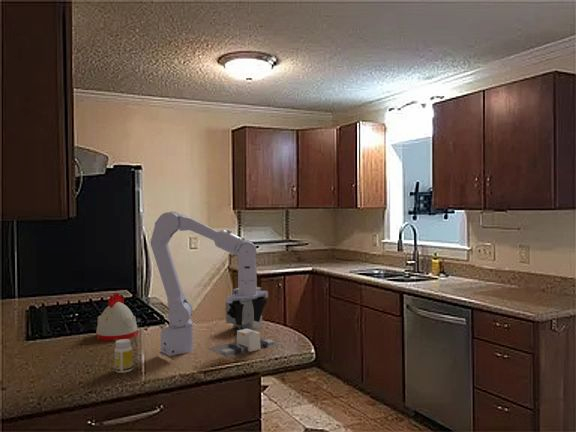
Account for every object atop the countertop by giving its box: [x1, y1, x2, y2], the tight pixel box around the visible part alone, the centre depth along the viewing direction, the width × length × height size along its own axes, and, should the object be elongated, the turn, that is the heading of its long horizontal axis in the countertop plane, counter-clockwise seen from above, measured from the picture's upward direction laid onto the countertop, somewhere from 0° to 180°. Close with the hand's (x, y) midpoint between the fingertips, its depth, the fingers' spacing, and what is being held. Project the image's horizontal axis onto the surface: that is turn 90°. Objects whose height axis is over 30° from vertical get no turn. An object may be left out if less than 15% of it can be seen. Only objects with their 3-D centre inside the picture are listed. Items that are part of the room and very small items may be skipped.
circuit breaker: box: [224, 286, 263, 330], centre depth 189 cm, size 8×14×15 cm, turn 152°
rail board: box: [206, 337, 281, 358], centre depth 166 cm, size 20×12×2 cm, turn 129°
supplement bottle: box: [114, 338, 134, 374], centre depth 147 cm, size 5×5×8 cm
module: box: [236, 328, 261, 353], centre depth 164 cm, size 4×7×5 cm, turn 39°
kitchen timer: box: [95, 292, 139, 341], centre depth 185 cm, size 14×14×15 cm
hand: (248, 322), depth 164 cm, fingers open, 6 cm apart
